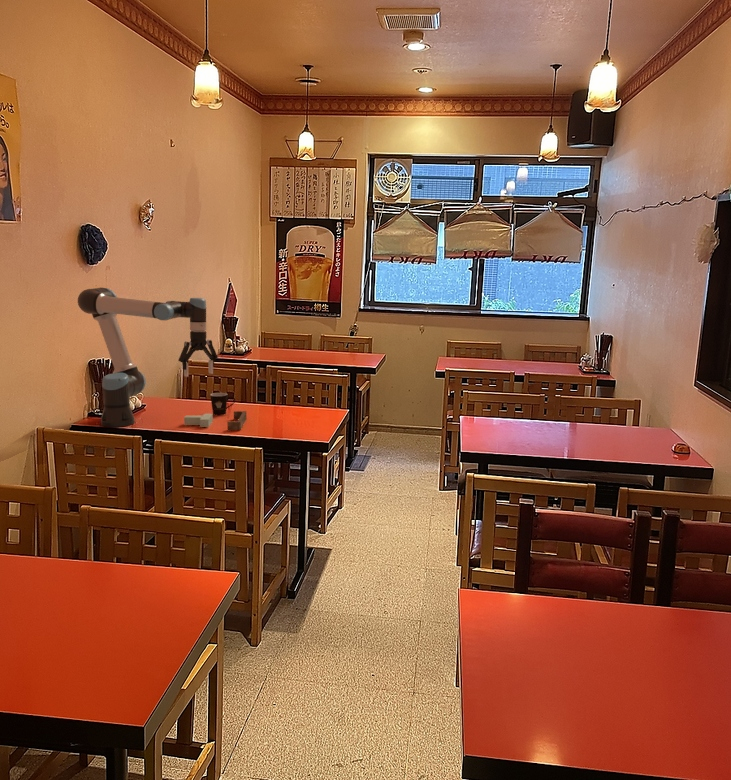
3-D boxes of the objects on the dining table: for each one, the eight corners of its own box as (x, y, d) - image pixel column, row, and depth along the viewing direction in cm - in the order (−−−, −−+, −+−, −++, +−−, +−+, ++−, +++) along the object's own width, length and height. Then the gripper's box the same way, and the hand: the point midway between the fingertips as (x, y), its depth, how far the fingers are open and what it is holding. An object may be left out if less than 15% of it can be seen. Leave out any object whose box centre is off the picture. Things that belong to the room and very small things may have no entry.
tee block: (182, 427, 324) (182, 419, 324) (187, 421, 336) (187, 413, 335) (208, 427, 325) (208, 419, 324) (212, 421, 337) (212, 413, 336)
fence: (227, 430, 320) (227, 422, 320) (234, 419, 342) (234, 411, 342) (240, 430, 321) (240, 422, 320) (246, 419, 343) (246, 411, 342)
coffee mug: (207, 414, 350) (207, 395, 348) (216, 411, 358) (215, 392, 356) (228, 416, 347) (227, 397, 345) (236, 413, 355) (236, 393, 353)
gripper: (179, 333, 319) (179, 378, 323) (224, 330, 336) (225, 373, 340) (170, 331, 324) (171, 376, 328) (216, 328, 341) (216, 371, 346)
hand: (198, 374), depth 334 cm, fingers open, 13 cm apart
